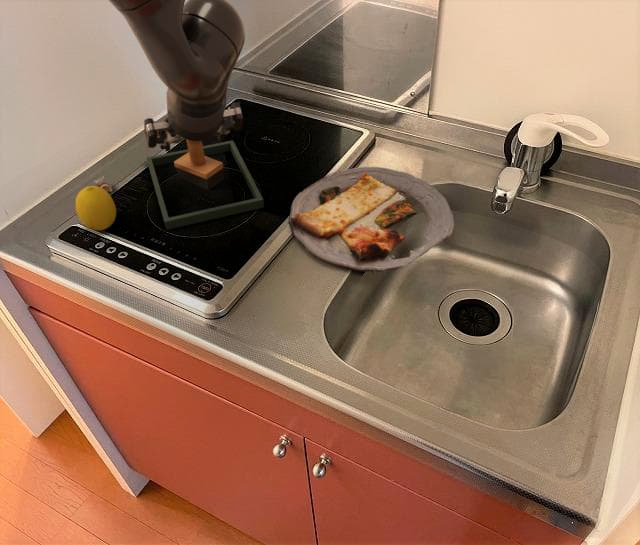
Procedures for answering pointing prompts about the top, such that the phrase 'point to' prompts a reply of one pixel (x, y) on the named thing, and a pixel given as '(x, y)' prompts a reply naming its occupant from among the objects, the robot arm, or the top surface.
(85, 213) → the lemon
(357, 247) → the food plate
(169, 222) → the green rectangular frame
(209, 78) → the robot arm
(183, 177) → the brush
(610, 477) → the top surface
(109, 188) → the pale curved piece
